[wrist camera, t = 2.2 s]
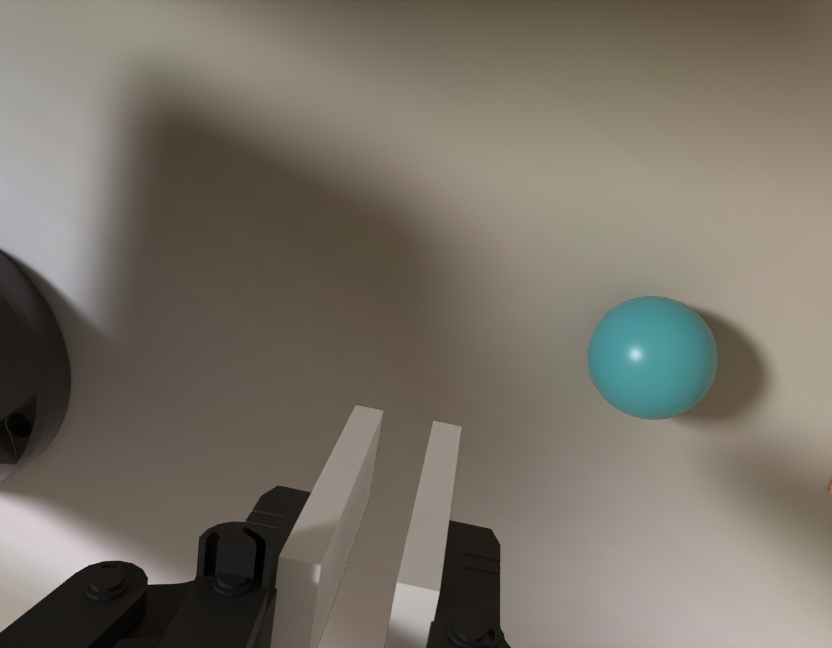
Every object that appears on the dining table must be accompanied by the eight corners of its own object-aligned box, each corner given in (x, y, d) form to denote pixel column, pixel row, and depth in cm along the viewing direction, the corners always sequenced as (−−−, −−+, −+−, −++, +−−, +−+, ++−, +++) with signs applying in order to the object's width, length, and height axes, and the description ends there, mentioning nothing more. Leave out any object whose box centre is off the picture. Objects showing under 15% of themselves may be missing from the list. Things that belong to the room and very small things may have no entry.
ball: (600, 404, 34) (617, 455, 29) (567, 304, 33) (579, 340, 28) (711, 372, 33) (750, 420, 28) (681, 268, 32) (716, 297, 27)
